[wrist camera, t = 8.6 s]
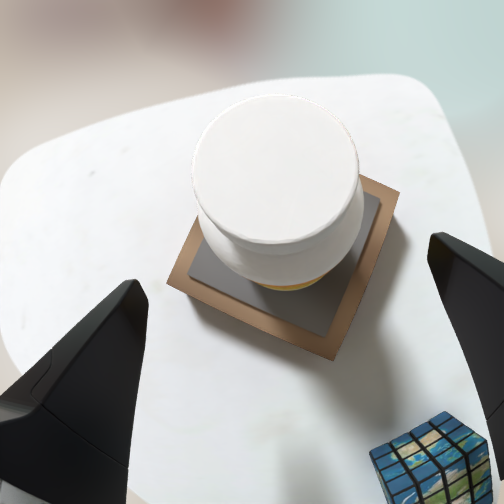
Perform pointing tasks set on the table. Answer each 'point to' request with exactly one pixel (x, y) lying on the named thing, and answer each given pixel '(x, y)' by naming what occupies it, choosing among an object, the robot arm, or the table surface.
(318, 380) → the table surface
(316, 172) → the supplement bottle
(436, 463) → the puzzle
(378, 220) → the base block
